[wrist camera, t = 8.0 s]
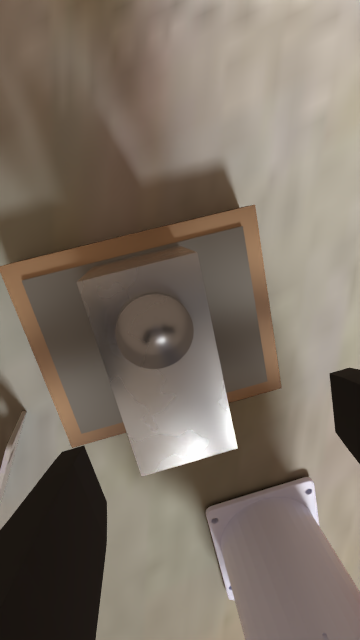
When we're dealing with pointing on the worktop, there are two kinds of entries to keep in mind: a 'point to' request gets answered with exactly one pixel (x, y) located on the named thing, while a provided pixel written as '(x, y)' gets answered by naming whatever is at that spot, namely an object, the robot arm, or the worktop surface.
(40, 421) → the worktop surface
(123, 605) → the worktop surface
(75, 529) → the robot arm
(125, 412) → the housing
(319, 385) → the worktop surface
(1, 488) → the bracket
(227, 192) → the worktop surface
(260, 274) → the stand
